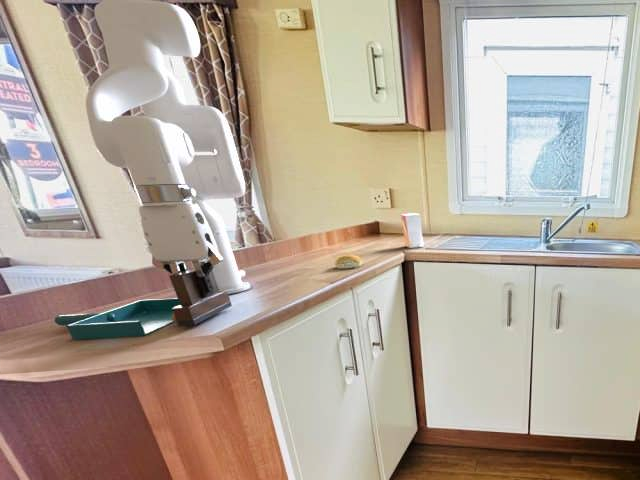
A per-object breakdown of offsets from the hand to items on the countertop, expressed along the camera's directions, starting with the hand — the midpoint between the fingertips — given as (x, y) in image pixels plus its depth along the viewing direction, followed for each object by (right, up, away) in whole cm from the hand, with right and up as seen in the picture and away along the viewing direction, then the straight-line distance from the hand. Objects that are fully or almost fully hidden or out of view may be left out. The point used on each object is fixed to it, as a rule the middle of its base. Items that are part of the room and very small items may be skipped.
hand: (200, 295), depth 84 cm
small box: (+20, +42, +98) cm, 108 cm away
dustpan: (-17, -6, +1) cm, 18 cm away
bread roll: (+9, +21, +55) cm, 60 cm away
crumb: (-2, -6, -1) cm, 6 cm away
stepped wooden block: (0, -4, +2) cm, 4 cm away
